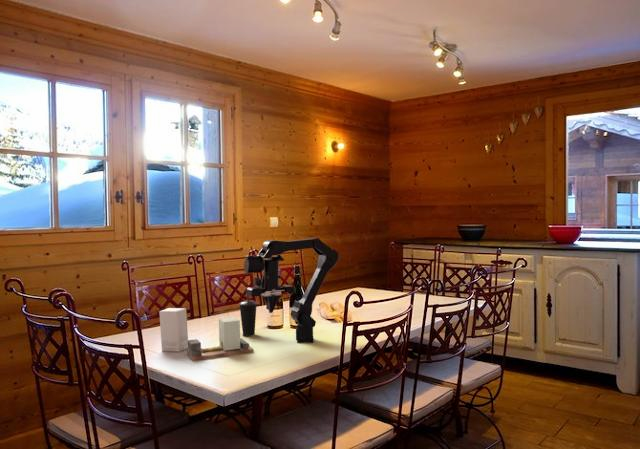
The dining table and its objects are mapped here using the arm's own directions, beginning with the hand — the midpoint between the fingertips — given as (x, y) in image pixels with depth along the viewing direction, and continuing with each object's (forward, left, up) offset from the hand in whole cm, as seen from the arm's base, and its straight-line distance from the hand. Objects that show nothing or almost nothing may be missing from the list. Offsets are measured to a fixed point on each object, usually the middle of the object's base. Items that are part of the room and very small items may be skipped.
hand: (270, 312), depth 201 cm
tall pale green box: (+15, +7, -11) cm, 20 cm away
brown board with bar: (+19, +9, -13) cm, 24 cm away
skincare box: (+37, +2, -13) cm, 39 cm away
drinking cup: (+11, -18, -13) cm, 25 cm away
